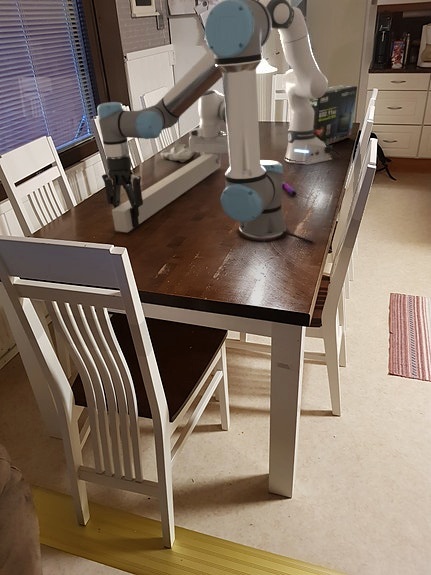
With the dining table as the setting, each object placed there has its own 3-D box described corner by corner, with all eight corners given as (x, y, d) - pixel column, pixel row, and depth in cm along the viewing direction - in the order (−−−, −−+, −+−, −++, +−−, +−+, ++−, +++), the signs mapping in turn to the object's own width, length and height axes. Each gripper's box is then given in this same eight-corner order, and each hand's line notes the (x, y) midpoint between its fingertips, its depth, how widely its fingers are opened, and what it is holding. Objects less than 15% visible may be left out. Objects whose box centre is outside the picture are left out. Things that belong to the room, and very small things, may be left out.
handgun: (263, 182, 193) (263, 177, 192) (280, 180, 194) (280, 175, 193) (277, 198, 176) (277, 193, 175) (297, 195, 177) (297, 191, 176)
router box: (314, 151, 231) (318, 94, 217) (296, 148, 237) (299, 92, 224) (352, 138, 251) (358, 85, 238) (335, 135, 258) (340, 83, 245)
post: (127, 232, 151) (124, 211, 147) (115, 230, 153) (111, 210, 149) (221, 166, 211) (220, 150, 207) (211, 165, 213) (210, 150, 209)
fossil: (184, 156, 217) (163, 136, 220) (174, 174, 223) (154, 154, 227) (205, 153, 231) (186, 134, 234) (195, 171, 237) (176, 152, 240)
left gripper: (148, 154, 143) (157, 223, 155) (101, 151, 149) (113, 217, 161) (135, 160, 137) (145, 232, 149) (87, 157, 144) (100, 226, 156)
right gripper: (234, 130, 198) (235, 162, 205) (192, 128, 206) (194, 159, 213) (229, 133, 193) (230, 166, 201) (186, 131, 201) (188, 162, 208)
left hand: (128, 224), depth 155 cm, fingers closed on post, 5 cm apart
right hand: (211, 162), depth 207 cm, fingers closed on post, 5 cm apart
